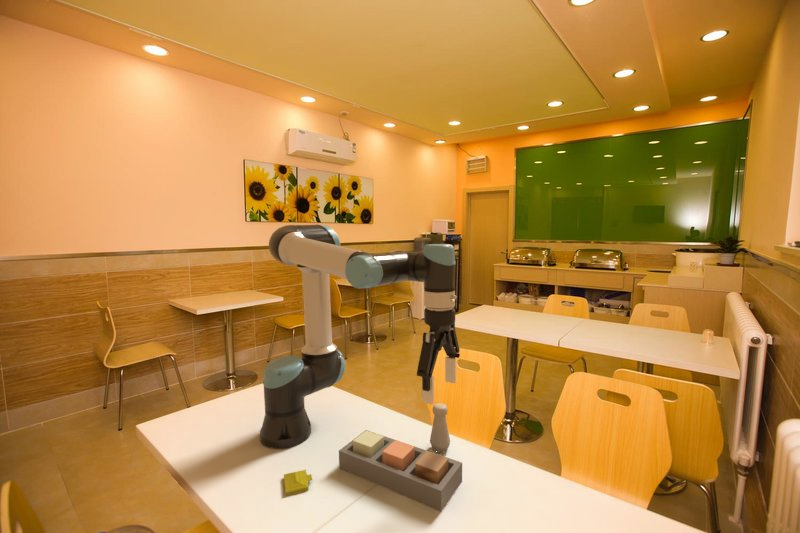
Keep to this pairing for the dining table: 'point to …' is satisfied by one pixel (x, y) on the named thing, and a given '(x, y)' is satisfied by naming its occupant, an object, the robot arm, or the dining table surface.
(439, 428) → the salt shaker
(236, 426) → the dining table surface
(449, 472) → the key panel
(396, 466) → the terracotta key
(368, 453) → the cream square block
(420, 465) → the walnut key
